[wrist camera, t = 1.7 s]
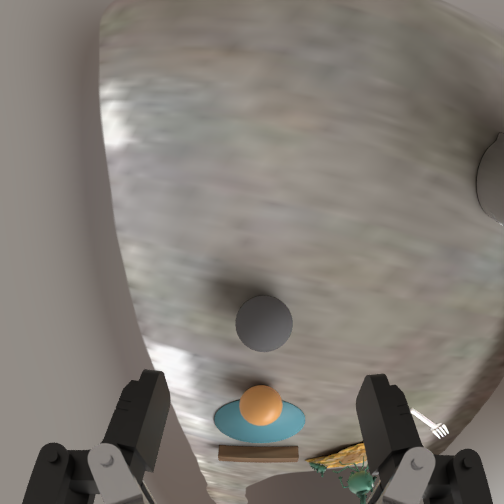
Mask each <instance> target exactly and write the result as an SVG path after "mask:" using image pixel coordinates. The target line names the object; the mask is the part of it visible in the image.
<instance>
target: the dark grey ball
mask: <svg viewBox="0 0 504 504" xmlns="http://www.w3.org/2000/svg"><path fill="white" fill-rule="evenodd" d="M292 327H293V321H292V316H291V313H290V311H289V309H288V308H287V306H286V305H285V304H284V303H283V302H282V301H280V300H279V299H277V298H275V297H271V296H257V297H254V298H252V299H250V300H248V301H247V302H246V303H244V304H243V306H242V307H241V308H240V310H239V312H238V314H237V317H236V331H237V334H238V336H239V338H240V340H241V341H242V342H243V343H244V344H245V345H246V346H247V347H249V348H250V349H252V350H255V351H259V352H269V351H273V350H275V349H278V348H279V347H281V346H282V345H283V344H284V343H285V342H286V341H287V340H288V338H289V336H290V334H291V332H292Z"/></svg>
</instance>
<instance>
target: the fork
mask: <svg viewBox="0 0 504 504" xmlns="http://www.w3.org/2000/svg"><path fill="white" fill-rule="evenodd" d="M410 412H411V413H412V414H414V415H415V416H416V417H418V418H419V419H420V420H422V421H423V422H425V423H426V424H427V425H429V426H430V427H431V429H430V431H431V430H433V429H435V428H437V427H438V426H439V425H440V424H442V423H438V424H435V423H433V422H432V421H431V420H429V419H428V418H426V417H425V416H423V415H422V414H421V413H419V412H418V411H416V410H415V409H413V408H411V409H410ZM442 427H443V428H444V429H445V430H446V432H447V433H448V434H449V432H448V430H447V428H446V426H445V425H442ZM439 429H440V430H441V431H442V432H443V433H444V434H445V435H446V433H445V432H444V430H443V429H442V428H441V427H439ZM439 429H436V430H437V431H438V432H439V433H440V434H441V436H442V437H443V435H442V433H441V432H440V430H439ZM433 433H434V434H435V435H436V436H437V437H438V438H439V439H440V437H439V435H438V434H437V432H436V431H433Z"/></svg>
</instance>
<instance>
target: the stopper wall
mask: <svg viewBox="0 0 504 504" xmlns="http://www.w3.org/2000/svg"><path fill="white" fill-rule="evenodd" d="M218 458H219V461H233V462H297V461H298V458H299V455H298V446H291V447H247V446H226V445H219V453H218Z"/></svg>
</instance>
